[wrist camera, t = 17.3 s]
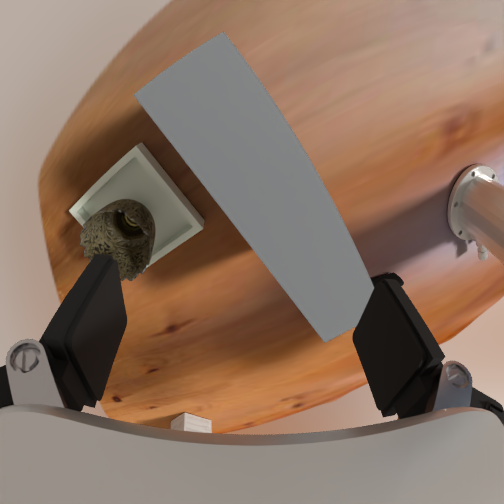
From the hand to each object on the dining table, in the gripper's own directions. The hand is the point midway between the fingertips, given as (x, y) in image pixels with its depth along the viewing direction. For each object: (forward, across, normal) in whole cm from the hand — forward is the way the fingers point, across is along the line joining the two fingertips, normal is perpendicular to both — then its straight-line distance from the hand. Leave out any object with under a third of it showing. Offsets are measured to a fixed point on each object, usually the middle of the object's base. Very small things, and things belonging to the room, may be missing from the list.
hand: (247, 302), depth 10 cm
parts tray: (+22, +12, +7) cm, 26 cm away
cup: (+22, +11, +7) cm, 26 cm away
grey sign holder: (+23, -2, 0) cm, 23 cm away
